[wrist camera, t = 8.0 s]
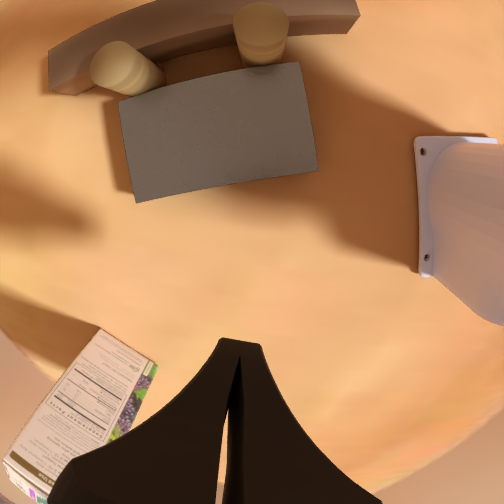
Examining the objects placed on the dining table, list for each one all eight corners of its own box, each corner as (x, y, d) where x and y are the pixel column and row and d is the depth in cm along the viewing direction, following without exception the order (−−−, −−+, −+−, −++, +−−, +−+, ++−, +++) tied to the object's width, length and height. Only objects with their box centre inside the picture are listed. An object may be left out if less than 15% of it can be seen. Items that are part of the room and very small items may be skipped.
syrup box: (137, 397, 23) (83, 528, 9) (83, 363, 22) (6, 481, 9) (160, 363, 22) (96, 524, 8) (98, 323, 21) (-4, 460, 7)
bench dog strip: (355, 67, 14) (386, 41, 10) (78, 127, 16) (30, 125, 11) (334, -3, 13) (354, -42, 8) (72, 60, 14) (29, 44, 9)
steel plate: (310, 168, 17) (318, 171, 15) (151, 196, 18) (136, 203, 15) (294, 73, 15) (299, 61, 13) (135, 107, 16) (117, 101, 14)
